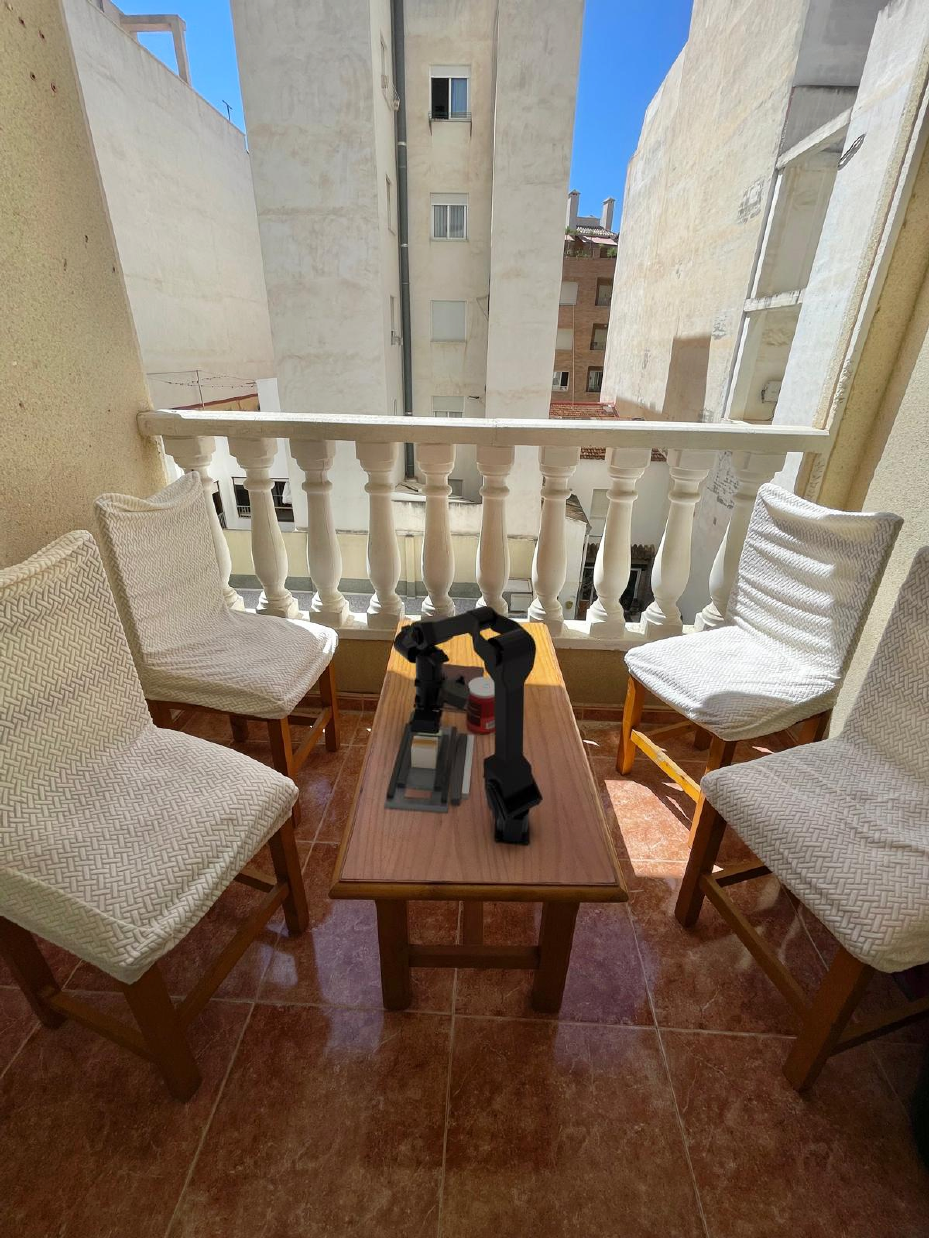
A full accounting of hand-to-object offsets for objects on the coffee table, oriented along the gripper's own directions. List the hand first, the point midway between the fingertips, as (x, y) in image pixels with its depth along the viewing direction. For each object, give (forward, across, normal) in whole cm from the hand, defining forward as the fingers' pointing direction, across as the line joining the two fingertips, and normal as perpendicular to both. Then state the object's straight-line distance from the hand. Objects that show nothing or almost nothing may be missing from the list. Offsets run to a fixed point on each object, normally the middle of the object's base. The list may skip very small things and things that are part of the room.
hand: (429, 732), depth 122 cm
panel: (+4, -7, 0) cm, 8 cm away
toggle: (+2, -7, 0) cm, 7 cm away
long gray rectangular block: (+4, -7, -8) cm, 11 cm away
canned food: (+4, +9, -12) cm, 15 cm away
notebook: (+4, +23, -3) cm, 24 cm away
